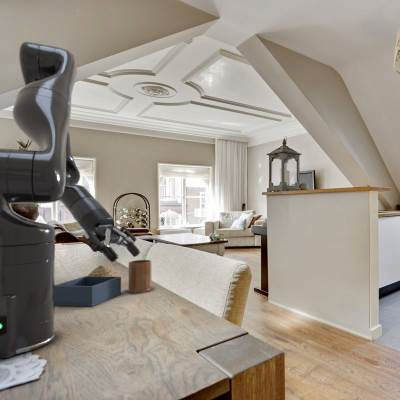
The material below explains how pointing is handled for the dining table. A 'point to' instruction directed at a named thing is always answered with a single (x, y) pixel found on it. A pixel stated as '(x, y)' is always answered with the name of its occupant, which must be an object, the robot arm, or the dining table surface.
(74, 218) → the robot arm
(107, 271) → the seashell
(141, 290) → the brown cup
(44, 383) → the dining table surface
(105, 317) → the dining table surface
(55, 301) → the bin
